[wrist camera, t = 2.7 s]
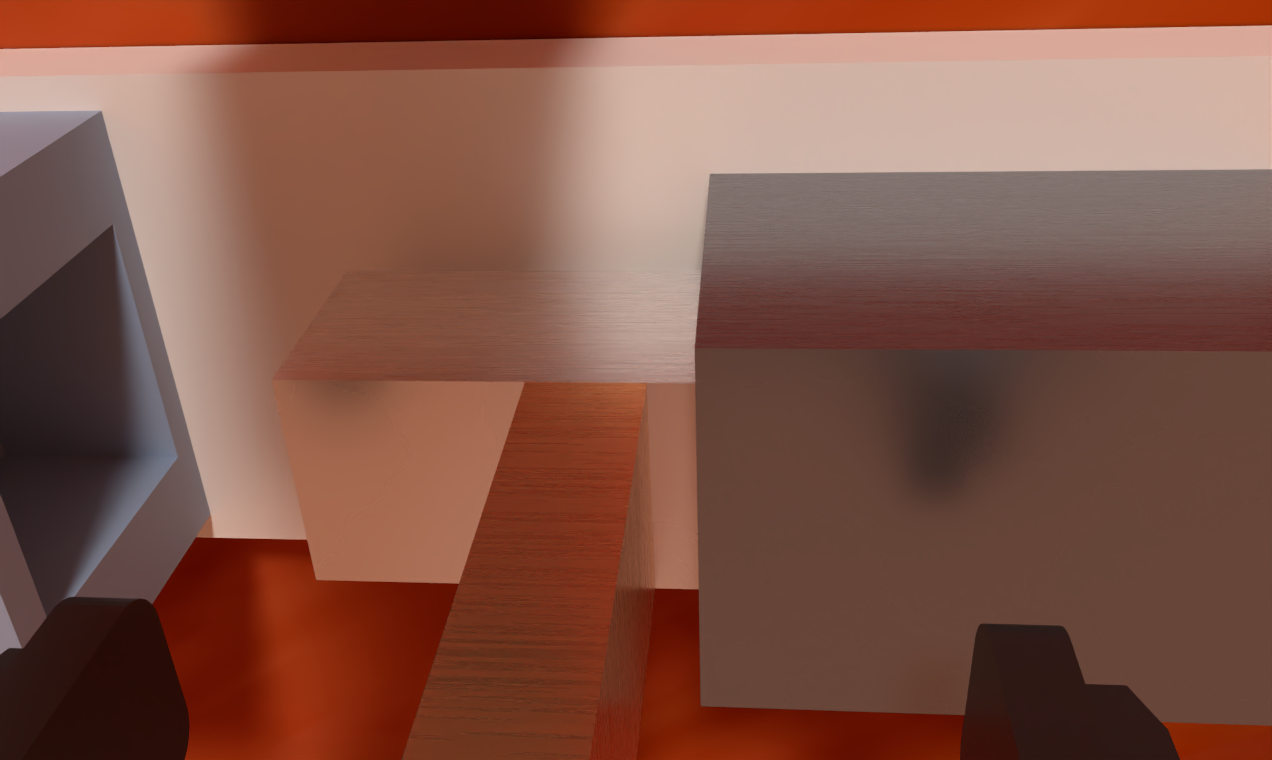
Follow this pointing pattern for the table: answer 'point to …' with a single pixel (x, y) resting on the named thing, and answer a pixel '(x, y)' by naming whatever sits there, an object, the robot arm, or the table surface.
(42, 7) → the table surface
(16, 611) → the socket block
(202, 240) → the base board
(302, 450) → the inner bar
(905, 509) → the grey rectangular block
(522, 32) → the table surface
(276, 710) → the table surface
